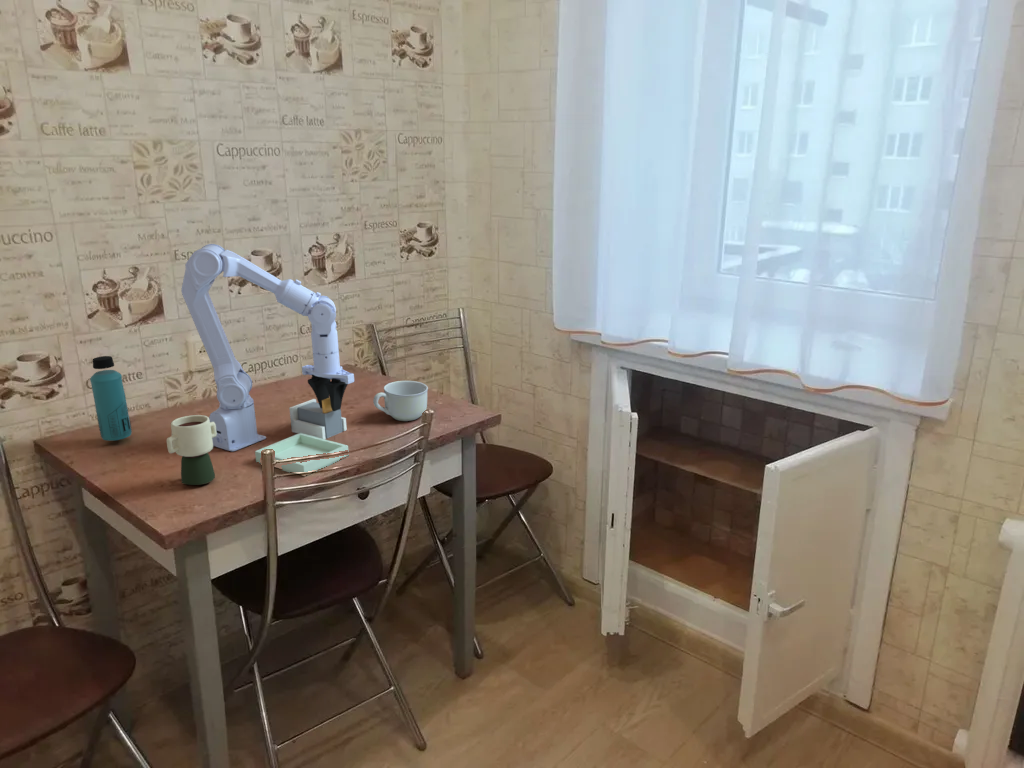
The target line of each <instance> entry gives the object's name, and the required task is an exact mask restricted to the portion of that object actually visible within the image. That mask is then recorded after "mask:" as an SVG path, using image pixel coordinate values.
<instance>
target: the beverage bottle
mask: <svg viewBox="0 0 1024 768" xmlns="http://www.w3.org/2000/svg"><path fill="white" fill-rule="evenodd" d="M114 366H115V363H114V360H113V356H109V355H103V356H101V355H100V356H97V357H94V358H93V359H92V368H93V369H95V370H98V371H95V373H93V375H91V376H90V378H89V380H90V381H89V382H90V385H91V389H92V390H91V391H92V395H93V401H94V409H95V413H96V417H97V418H96V420H97V424H98V430H99V434H100V437H101V439H102V440H103V441H108V442H110V441H119V440H124V439H127V438H129V437H130V436H132V431H133V430H132V422H131V419H130V414H129V412H130V411H129V407H128V403H127V397H126V392H125V388H124V383H123V376H122V374H121V373H120V372H119V371H117V370H114V369H110V368H113V367H114ZM103 369H104V370H103ZM99 370H100V371H99Z"/></svg>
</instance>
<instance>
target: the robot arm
mask: <svg viewBox="0 0 1024 768" xmlns="http://www.w3.org/2000/svg"><path fill="white" fill-rule="evenodd" d="M220 274H222V277H223V278H226V277H227V278H230V277H231V278H232V277H239V278H241V279H242V278H243V279H244V280H246V281H248V282H251V284H254V285H256V286H258V287H260V288H262V289H264V290H266V291H268V292H271V293H273V294H274V296H275V300H276V302H277V303H279V304H281V305H283V306H284V307H286V308H287V309H290V310H292V311H294V312H295V313H297V314H299V315H301V316H303V317H304V316H305V317H308V320H309V323H311V332H310V336H311V337H310V338H311V348H312V349H311V350H312V359H313V365H311V364H305V365H302V366H301V371H302V373H301V374H302V375H303V376H307V375H309V376H311V377H310V378H309V379H307V384H308V385H309V386H310V388H311V389H312V391H313V393H314V395H315V397H316V401H317V403H319V405H320V408H322V400H324V399H327V398H330V403H331V408H332V411H337V410H339V409H341V408H342V402H343V398H344V394H345V391H346V389H347V387H348V385H350V384H352V383H354V382H355V374H354V373H353V372H349V371H347V370H345V369H343V366H341V365H340V363H341V362H340V351H339V336H338V330H337V323H336V318H337V308H336V305H335V303H334V301H333V300H332V299H331V298H330V297H329V296H327V295H322V293H321V292H318V291H316V292H315V291H314V290H311V289H309V288H307V287H305V286H303V285H302V281H301V280H298V279H295V280H293V279H291V278H288V279H284V280H281V279H280V278H278V277H276V276H275V275H273V274H271V273H270V272H268V271H266V270H264V269H263V268H261V267H260V266H259V265H256V264H255V263H253V262H251V261H249V260H248V259H246V258H245V257H244V256H241V255H239V254H237V253H236V252H234V251H232V250H229V249H226V250H225V248H223V247H222V246H221V245H220V244H215V243H208V244H205V245H203V246H202V247H201V248H198V249H197V250H194V252H193V253H192V254H191V255H190V257H189V258H188V260H187V261H186V262H185V266H184V275H183V280H182V285H181V296H182V298H183V300H184V303H185V304H186V306H187V309H188V312H189V314H190V316H191V319H192V321H193V323H194V325H195V326H194V327H195V328H196V330H197V333H198V335H199V337H200V339H201V342H202V344H203V347H204V350H205V351H206V354H207V357H208V359H209V361H210V364H211V365H212V368H213V379H214V382H215V385H216V398H217V401H218V402H219V403H218V404H219V407H218V408H217V409H216V410H214V411H212V412H211V413H210V414H209V416H208V417H209V420H210V422H215V424H216V431H217V436H216V437H214V438H212V441H213V447H214V448H215V447H216V448H218V449H222V450H225V451H230V452H236V451H238V450H241V449H243V448H246V447H249V446H250V445H253V444H256V443H259V442H261V441H264V440H267V436H265V435H261V434H259V433H258V428H257V419H256V412H255V410H256V408H255V402H254V398H253V397H251V394H250V392H251V390H252V388H253V381H252V377H251V376H250V375H249V374H248V373H247V372H246V371H245V370H244V368H243V367H242V363H240V362H239V360H237V358H236V356H235V354H234V352H233V349H232V347H231V344H230V342H229V340H228V339H229V338H228V336H227V335H226V332H225V329H224V326H223V325H222V323H221V320H220V318H219V315H218V312H217V310H216V308H215V306H214V303H213V300H212V298H211V296H210V293H209V291H210V290H211V288H212V286H213V284H214V282H215V281H216V280H215V279H216V278H217V277H218V276H220ZM341 410H342V409H341Z"/></svg>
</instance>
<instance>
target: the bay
mask: <svg viewBox="0 0 1024 768" xmlns="http://www.w3.org/2000/svg"><path fill="white" fill-rule="evenodd" d="M312 402H316V403H317V398H312V399H310V400H307V401H304V402H302V403H298V404H296V405H293V406H289V407H288V408H289V417H290V425H291V426H290V428H291V432H292V433H294V434H299V433H303V434H307V435H310V436H314V437H318V438H322V439H325V440H327V438H326V437H325V427H323V426H319V425H316V424H312V423H308V422H304V421H300V420H298V409H297V408H298V407H301V406H303V405H306V404H309V403H312ZM341 418H342V431H343V432H345V431H347V418H346V417H343V416H341Z"/></svg>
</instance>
